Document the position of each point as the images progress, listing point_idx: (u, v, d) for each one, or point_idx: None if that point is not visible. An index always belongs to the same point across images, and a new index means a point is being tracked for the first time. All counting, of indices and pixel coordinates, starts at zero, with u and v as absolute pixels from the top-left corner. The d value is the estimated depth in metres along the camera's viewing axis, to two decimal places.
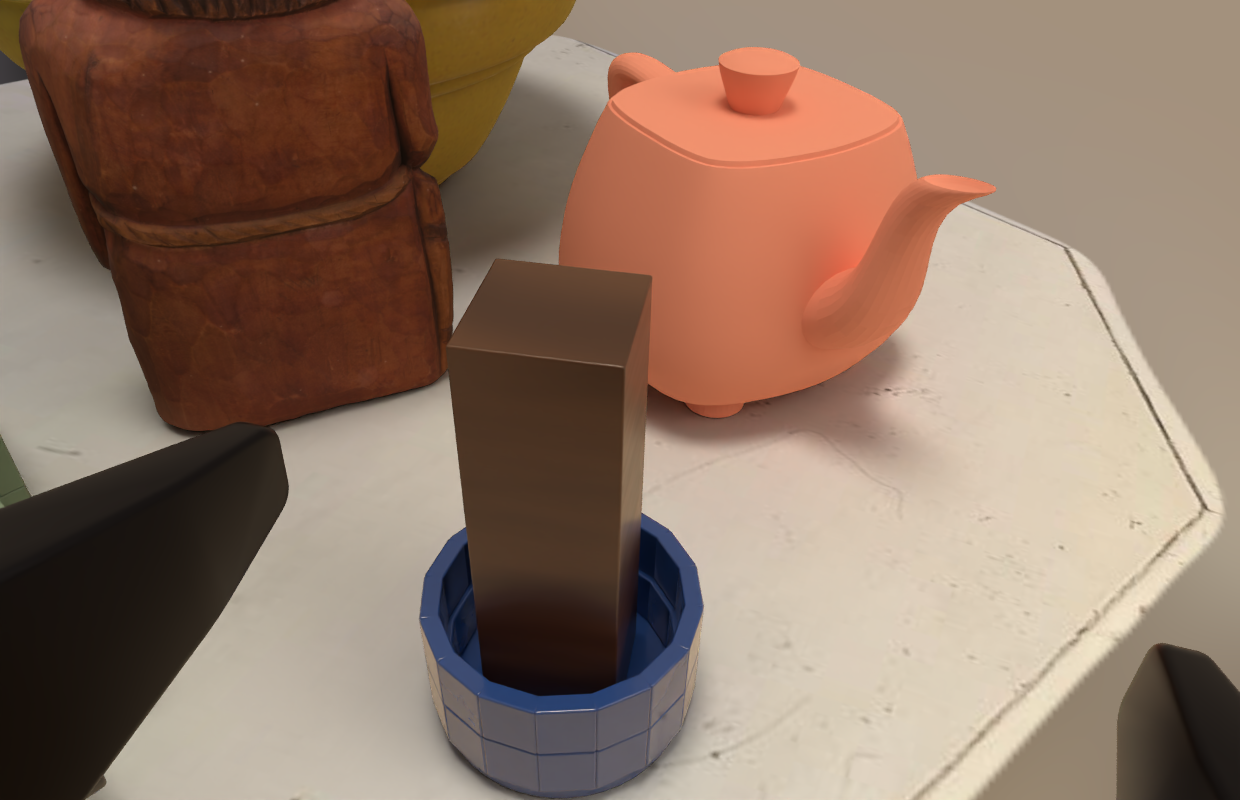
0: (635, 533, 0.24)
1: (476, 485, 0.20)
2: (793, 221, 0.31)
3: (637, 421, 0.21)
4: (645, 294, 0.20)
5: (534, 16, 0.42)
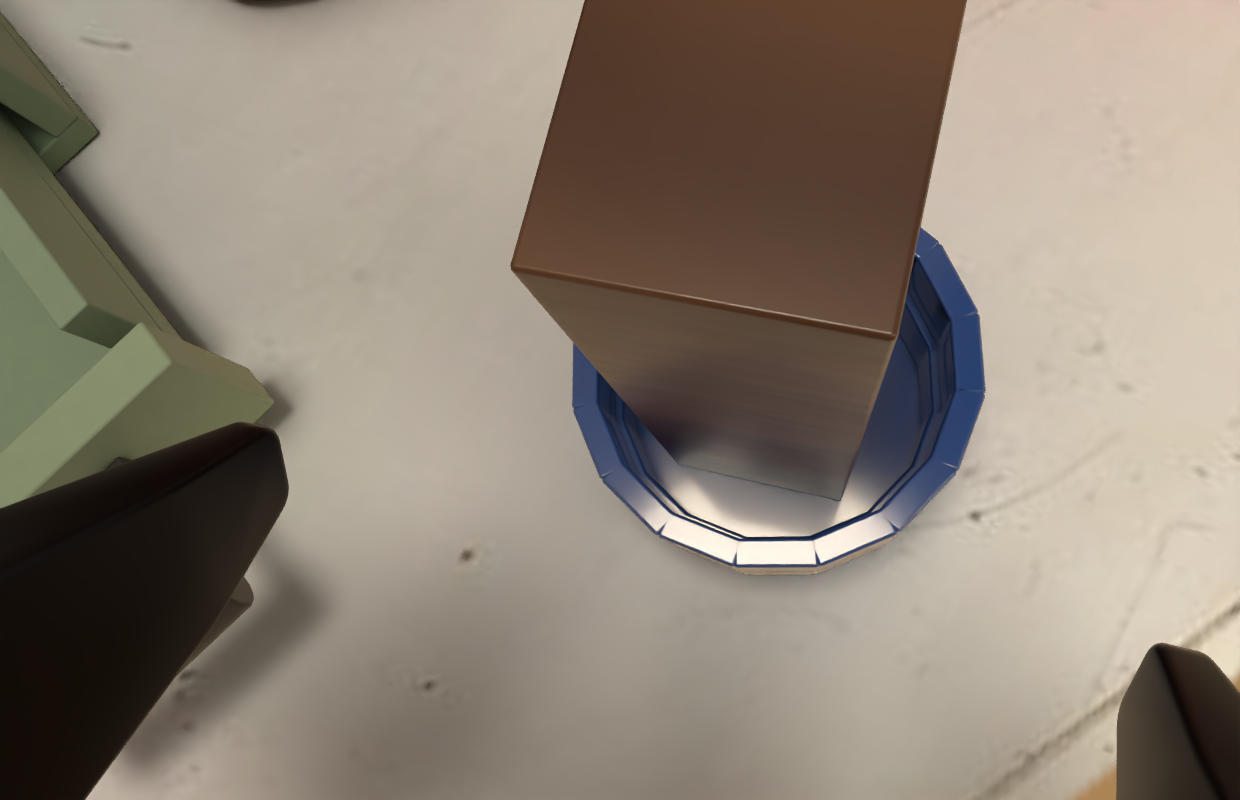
0: None
1: (617, 371, 0.12)
2: None
3: None
4: (951, 52, 0.08)
5: None
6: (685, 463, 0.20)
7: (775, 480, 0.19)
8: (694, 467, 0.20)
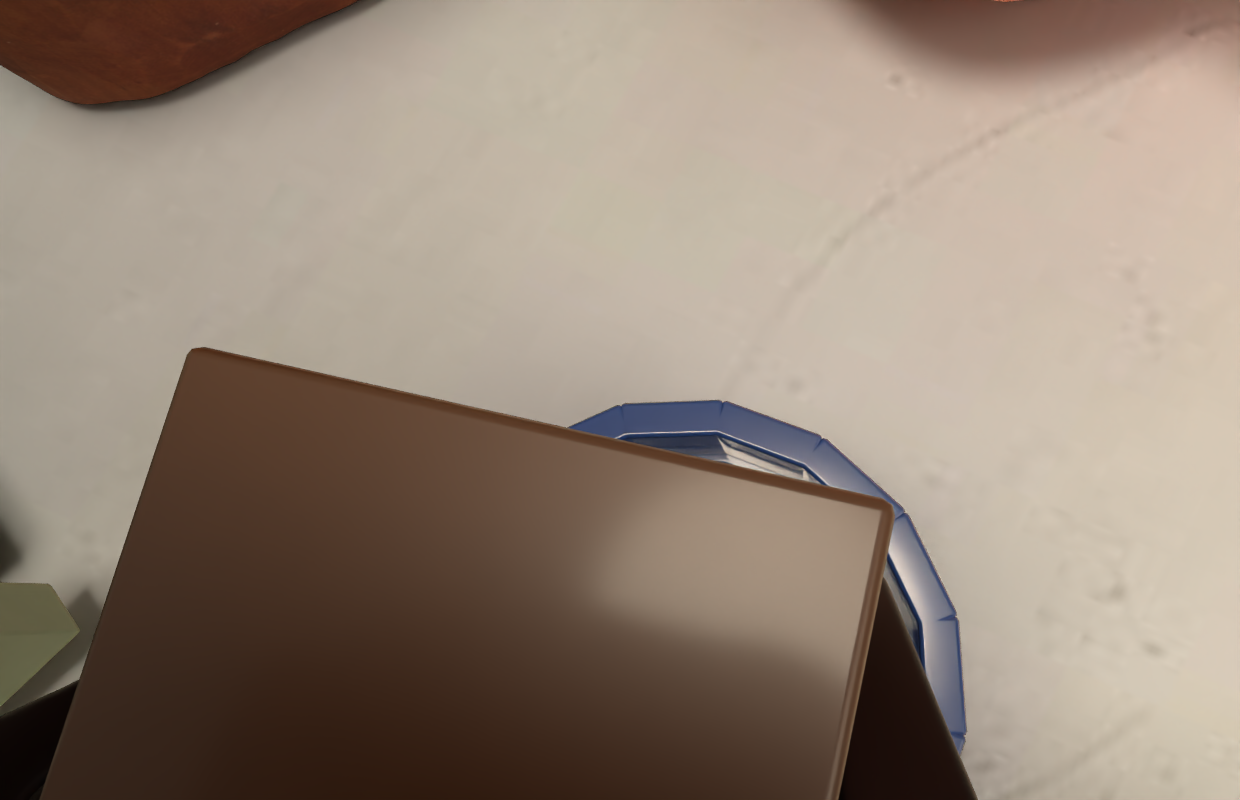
0: None
1: None
2: None
3: None
4: (849, 697, 0.04)
5: None
6: None
7: None
8: None
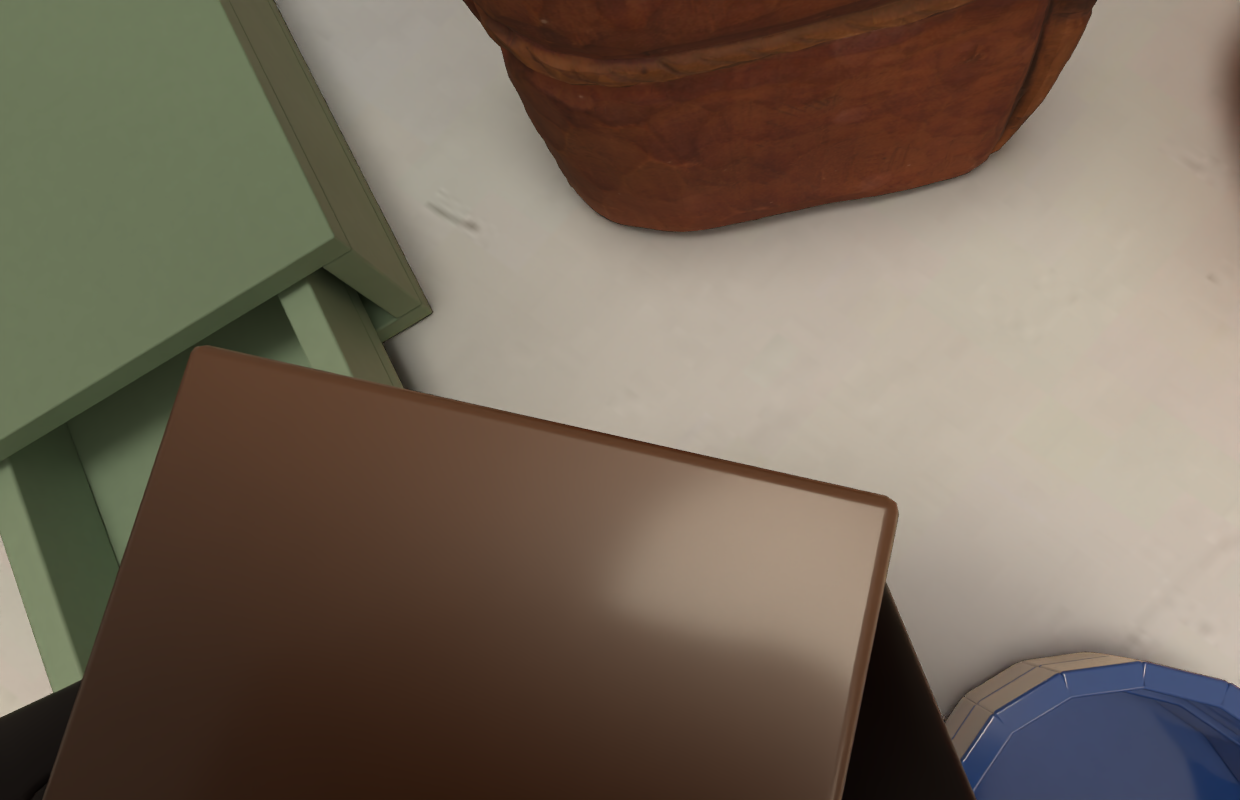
0: None
1: None
2: None
3: None
4: (853, 695, 0.04)
5: None
6: None
7: None
8: None
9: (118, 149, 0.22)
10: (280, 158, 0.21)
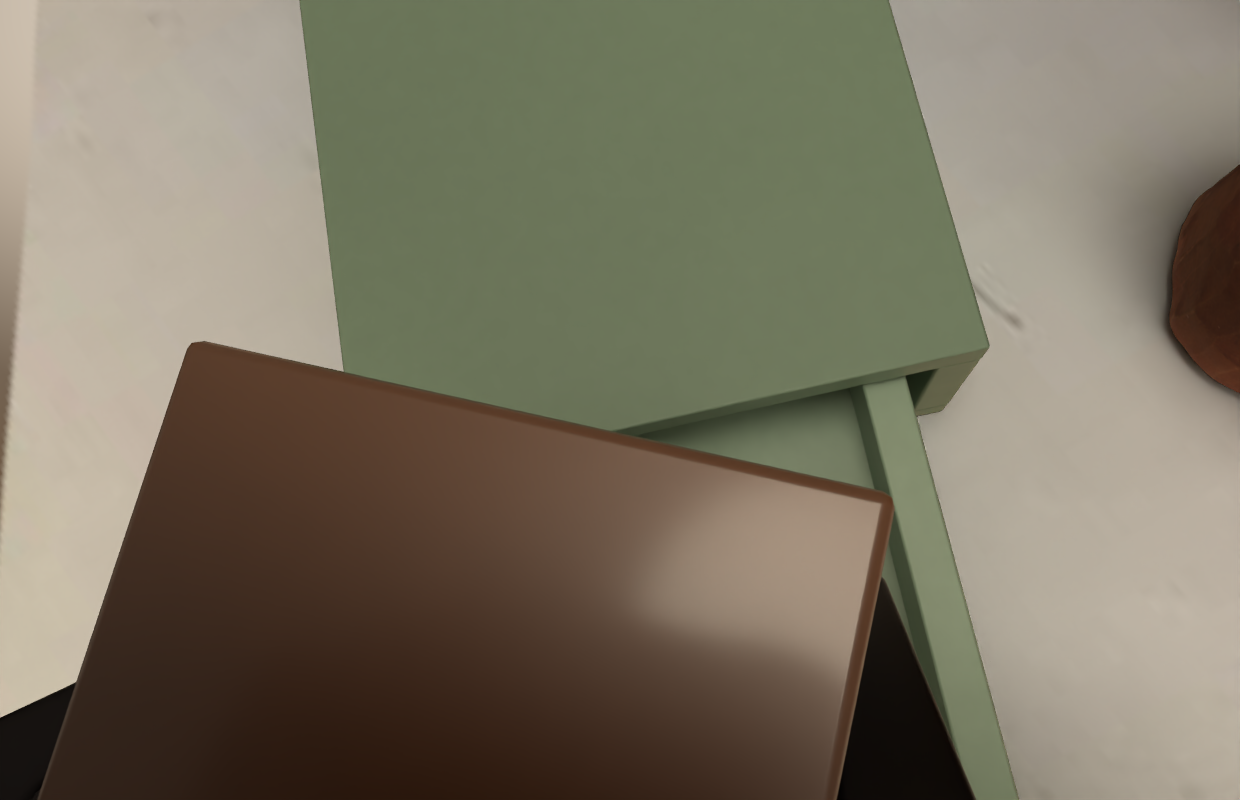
0: None
1: None
2: None
3: None
4: (849, 690, 0.04)
5: None
6: None
7: None
8: None
9: (720, 146, 0.18)
10: (934, 224, 0.17)
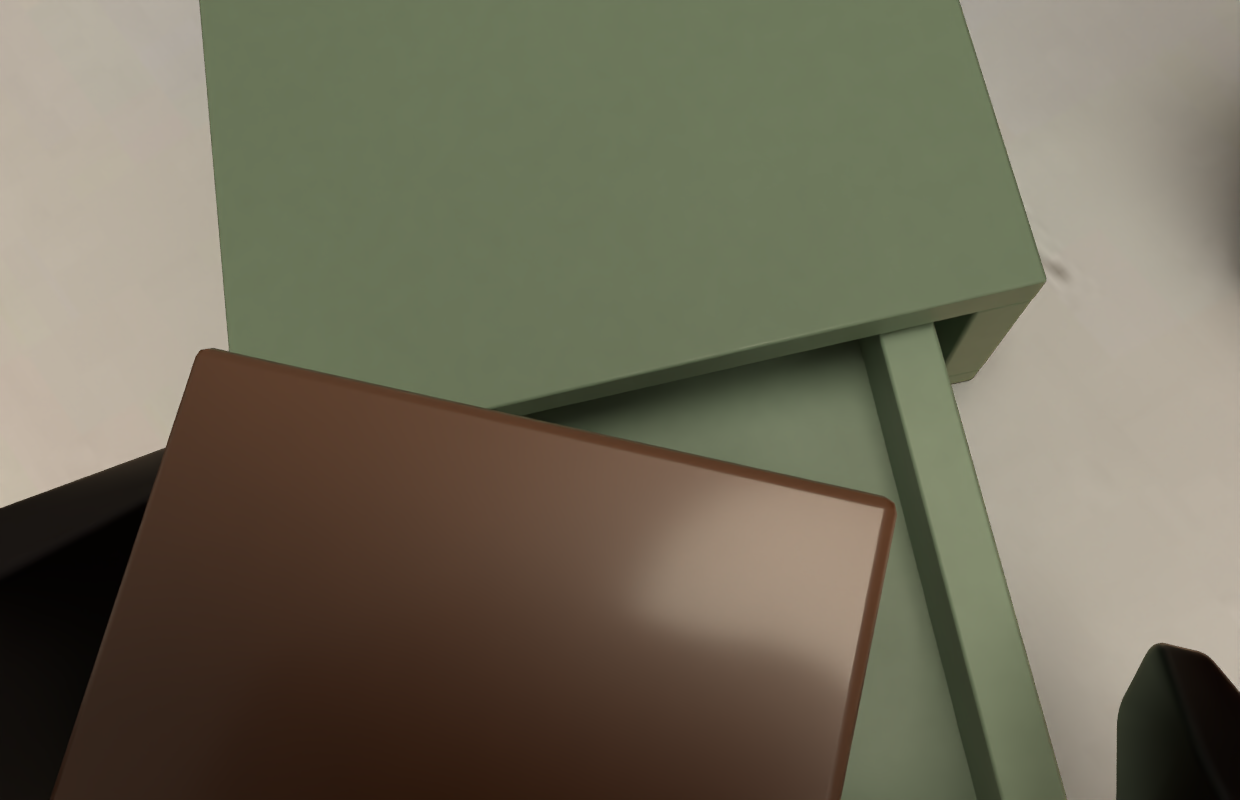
0: None
1: None
2: None
3: None
4: (853, 693, 0.04)
5: None
6: None
7: None
8: None
9: (699, 35, 0.14)
10: (972, 126, 0.13)
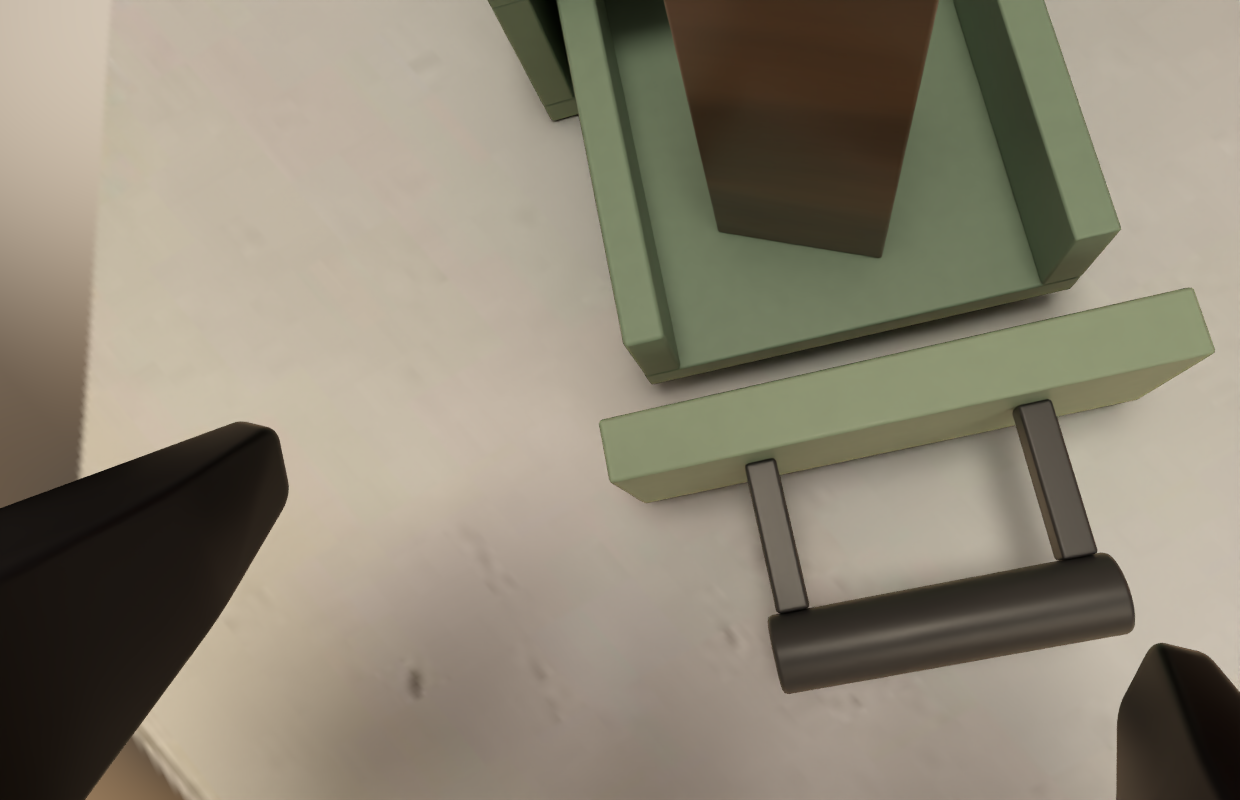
0: None
1: None
2: None
3: None
4: None
5: None
6: (727, 225, 0.20)
7: (818, 231, 0.19)
8: (735, 233, 0.20)
9: None
10: None
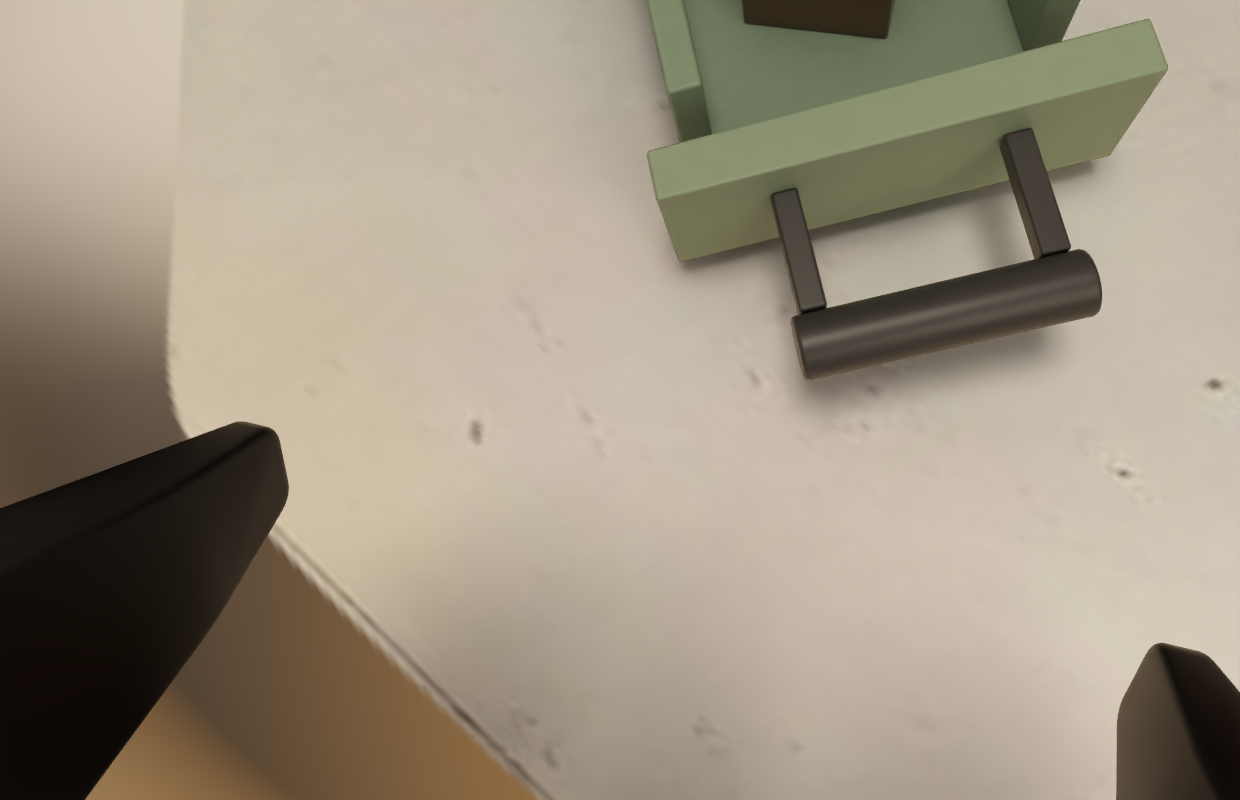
0: None
1: None
2: None
3: None
4: None
5: None
6: (753, 13, 0.23)
7: (832, 9, 0.22)
8: (760, 22, 0.23)
9: None
10: None
